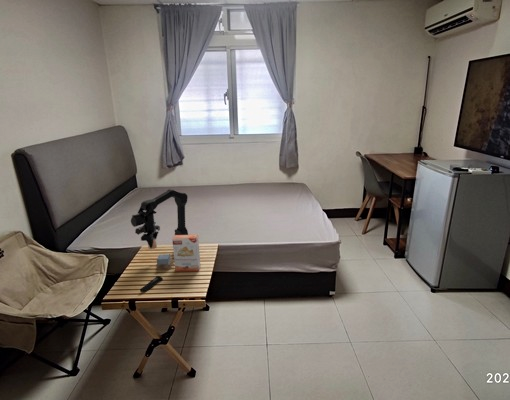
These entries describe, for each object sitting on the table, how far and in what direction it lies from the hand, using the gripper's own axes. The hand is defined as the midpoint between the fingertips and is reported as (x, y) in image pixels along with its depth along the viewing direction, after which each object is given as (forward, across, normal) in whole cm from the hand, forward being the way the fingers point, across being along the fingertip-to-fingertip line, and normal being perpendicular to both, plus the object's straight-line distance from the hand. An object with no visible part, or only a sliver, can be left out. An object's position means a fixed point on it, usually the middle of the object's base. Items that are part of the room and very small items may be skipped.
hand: (152, 245), depth 192 cm
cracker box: (+12, +10, +23) cm, 28 cm away
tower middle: (+8, +6, +8) cm, 13 cm away
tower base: (+12, +6, +8) cm, 15 cm away
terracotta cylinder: (+1, 0, 0) cm, 1 cm away
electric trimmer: (+12, +28, +7) cm, 31 cm away
